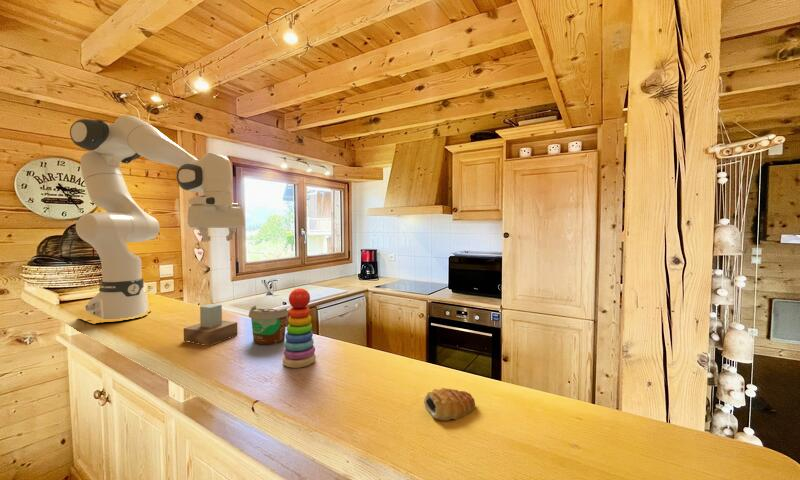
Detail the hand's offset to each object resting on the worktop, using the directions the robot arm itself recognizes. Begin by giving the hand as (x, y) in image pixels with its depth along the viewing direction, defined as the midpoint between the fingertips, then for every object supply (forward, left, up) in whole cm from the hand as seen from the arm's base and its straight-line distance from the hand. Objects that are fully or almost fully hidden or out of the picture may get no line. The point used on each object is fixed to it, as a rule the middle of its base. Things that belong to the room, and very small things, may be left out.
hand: (218, 241), depth 111 cm
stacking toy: (+46, -18, -29) cm, 57 cm away
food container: (+28, -10, -29) cm, 42 cm away
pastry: (+85, -27, -30) cm, 94 cm away
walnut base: (+10, -12, -29) cm, 33 cm away
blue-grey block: (+10, -12, -25) cm, 30 cm away
